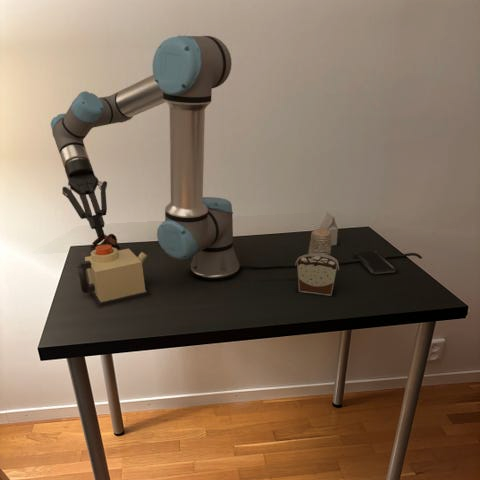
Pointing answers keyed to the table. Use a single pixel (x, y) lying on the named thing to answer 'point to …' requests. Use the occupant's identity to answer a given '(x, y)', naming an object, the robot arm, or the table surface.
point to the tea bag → (330, 227)
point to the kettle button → (104, 249)
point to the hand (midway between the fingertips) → (101, 237)
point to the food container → (316, 273)
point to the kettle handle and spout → (91, 287)
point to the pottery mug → (106, 242)
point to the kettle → (115, 274)
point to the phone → (375, 263)
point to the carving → (320, 242)
